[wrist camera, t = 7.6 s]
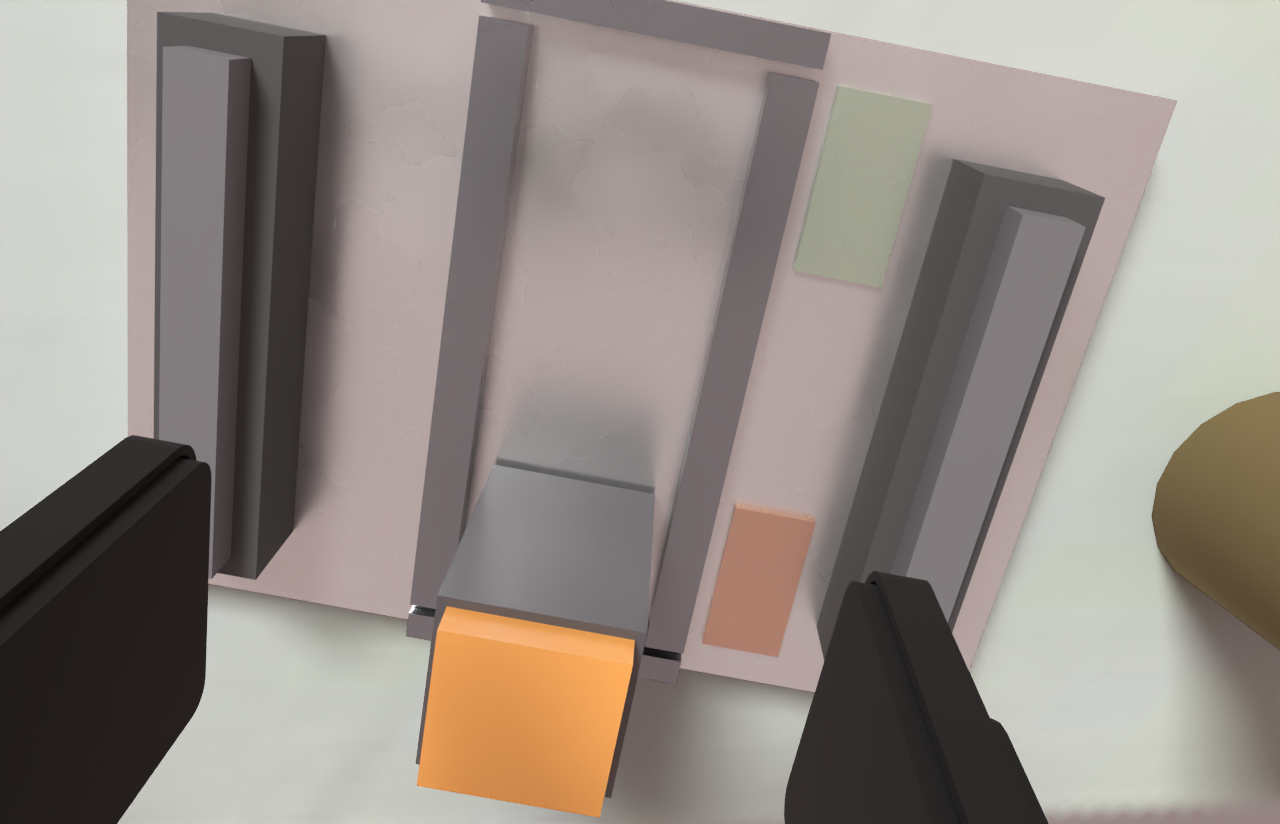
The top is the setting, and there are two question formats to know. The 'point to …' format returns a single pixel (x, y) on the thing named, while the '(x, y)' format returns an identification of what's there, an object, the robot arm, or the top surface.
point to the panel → (632, 288)
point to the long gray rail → (279, 290)
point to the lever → (538, 643)
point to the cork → (1228, 512)
